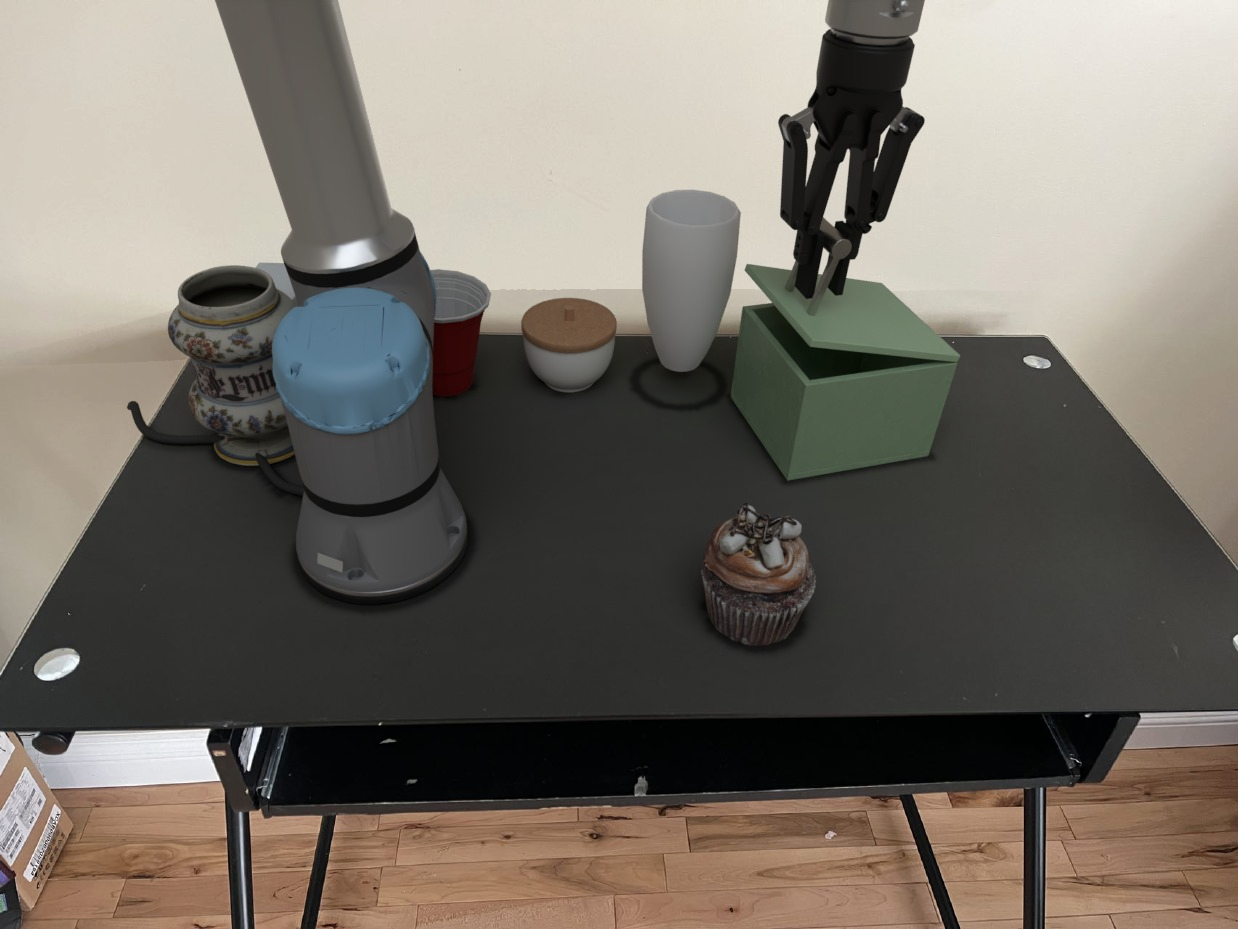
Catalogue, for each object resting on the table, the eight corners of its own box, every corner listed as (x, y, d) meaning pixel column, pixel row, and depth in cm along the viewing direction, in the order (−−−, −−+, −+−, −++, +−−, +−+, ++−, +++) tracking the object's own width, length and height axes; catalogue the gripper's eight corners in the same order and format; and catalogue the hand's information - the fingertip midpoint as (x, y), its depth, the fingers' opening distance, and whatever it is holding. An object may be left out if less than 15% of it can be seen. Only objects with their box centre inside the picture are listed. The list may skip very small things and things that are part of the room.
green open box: (787, 480, 93) (805, 385, 86) (730, 396, 105) (742, 306, 97) (928, 456, 97) (958, 363, 90) (858, 377, 109) (879, 289, 101)
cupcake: (688, 642, 76) (698, 557, 70) (705, 562, 84) (716, 479, 77) (802, 665, 75) (823, 580, 68) (810, 582, 82) (830, 498, 76)
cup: (615, 378, 107) (622, 203, 93) (677, 349, 112) (692, 179, 99) (678, 418, 101) (695, 238, 87) (740, 385, 107) (765, 211, 93)
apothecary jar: (291, 481, 90) (252, 324, 79) (180, 464, 92) (125, 307, 81) (342, 412, 100) (313, 262, 88) (240, 398, 101) (198, 249, 90)
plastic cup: (479, 416, 100) (472, 321, 93) (386, 402, 102) (372, 307, 94) (508, 364, 108) (503, 273, 101) (422, 352, 110) (411, 261, 102)
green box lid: (809, 347, 83) (848, 259, 78) (743, 270, 95) (774, 189, 90) (957, 362, 90) (1001, 282, 85) (879, 289, 101) (914, 214, 96)
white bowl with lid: (504, 382, 105) (500, 311, 100) (560, 344, 112) (560, 275, 106) (578, 415, 101) (578, 343, 95) (632, 373, 108) (636, 303, 102)
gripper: (804, 48, 70) (761, 317, 84) (977, 42, 74) (907, 300, 88) (764, 23, 75) (730, 280, 90) (927, 19, 79) (869, 266, 94)
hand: (818, 290), depth 89 cm, fingers open, 2 cm apart
